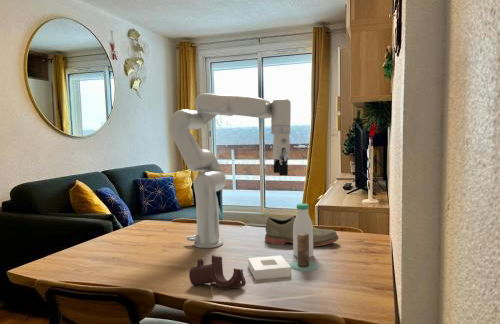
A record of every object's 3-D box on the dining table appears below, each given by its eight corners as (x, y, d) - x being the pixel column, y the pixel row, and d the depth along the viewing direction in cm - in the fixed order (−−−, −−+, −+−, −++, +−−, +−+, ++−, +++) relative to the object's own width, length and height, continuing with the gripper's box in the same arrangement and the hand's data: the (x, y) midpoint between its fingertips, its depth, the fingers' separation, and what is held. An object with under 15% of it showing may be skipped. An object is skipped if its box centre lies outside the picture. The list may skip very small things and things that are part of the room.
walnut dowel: (299, 267, 121) (299, 236, 121) (296, 263, 125) (295, 233, 125) (310, 267, 122) (310, 235, 121) (306, 263, 126) (306, 232, 125)
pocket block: (255, 281, 112) (254, 270, 112) (248, 267, 124) (248, 258, 124) (291, 277, 114) (291, 267, 114) (281, 264, 126) (281, 255, 126)
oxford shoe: (339, 248, 144) (339, 220, 143) (262, 246, 149) (262, 218, 149) (337, 241, 155) (337, 214, 154) (266, 239, 160) (265, 213, 160)
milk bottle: (313, 259, 132) (312, 206, 130) (292, 258, 133) (291, 206, 132) (313, 252, 139) (313, 202, 138) (294, 251, 141) (293, 202, 139)
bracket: (241, 286, 102) (238, 251, 106) (189, 292, 107) (188, 258, 110) (248, 286, 108) (245, 252, 111) (198, 292, 112) (197, 260, 116)
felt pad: (294, 273, 118) (294, 272, 118) (285, 263, 128) (285, 261, 128) (322, 271, 120) (322, 269, 120) (312, 261, 129) (312, 259, 129)
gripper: (296, 130, 131) (295, 176, 132) (284, 131, 148) (284, 171, 149) (276, 130, 129) (276, 176, 131) (267, 131, 146) (266, 172, 148)
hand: (280, 174), depth 140 cm, fingers open, 9 cm apart
